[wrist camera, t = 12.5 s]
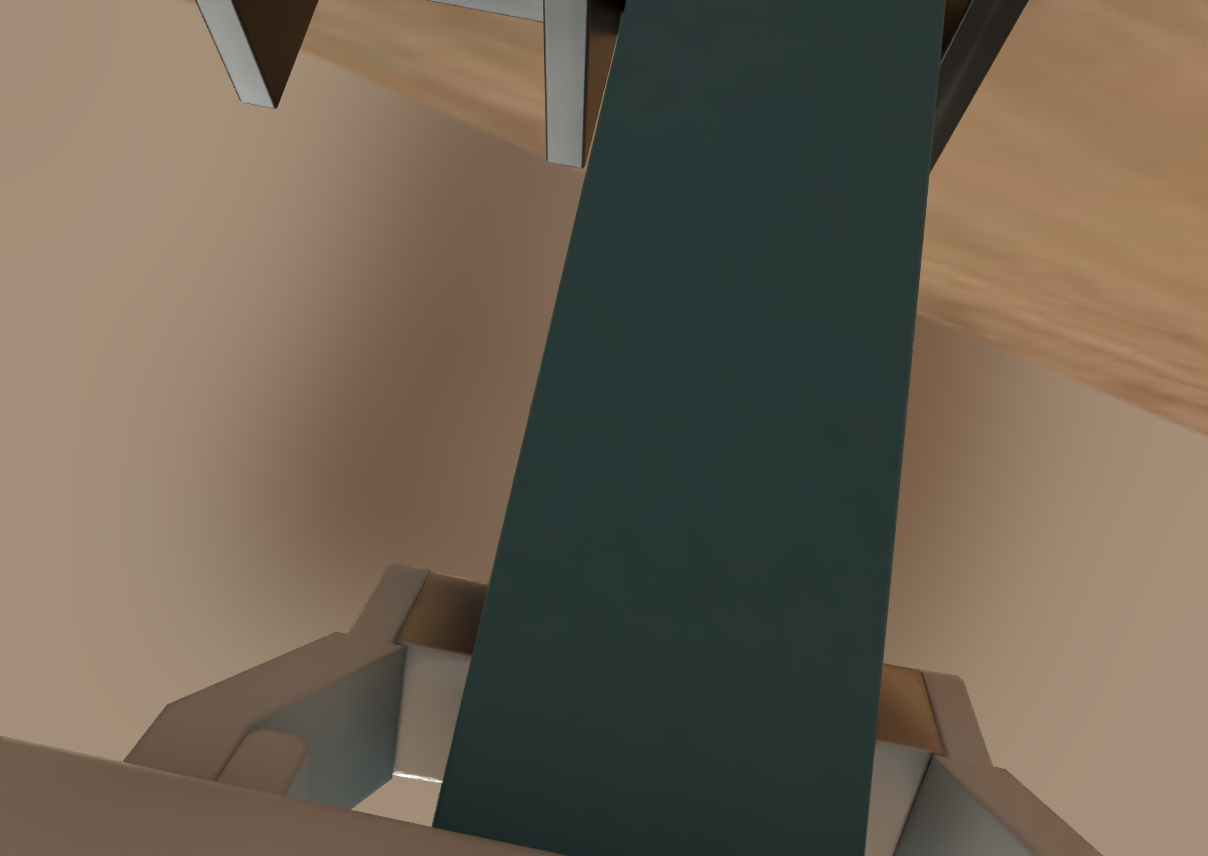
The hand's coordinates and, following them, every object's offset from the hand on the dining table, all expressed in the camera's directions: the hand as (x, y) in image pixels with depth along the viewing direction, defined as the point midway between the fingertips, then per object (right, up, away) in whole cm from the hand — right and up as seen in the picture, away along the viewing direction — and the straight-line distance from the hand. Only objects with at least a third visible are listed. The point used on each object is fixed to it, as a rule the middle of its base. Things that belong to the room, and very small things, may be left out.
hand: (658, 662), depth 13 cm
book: (+2, +11, +7) cm, 13 cm away
